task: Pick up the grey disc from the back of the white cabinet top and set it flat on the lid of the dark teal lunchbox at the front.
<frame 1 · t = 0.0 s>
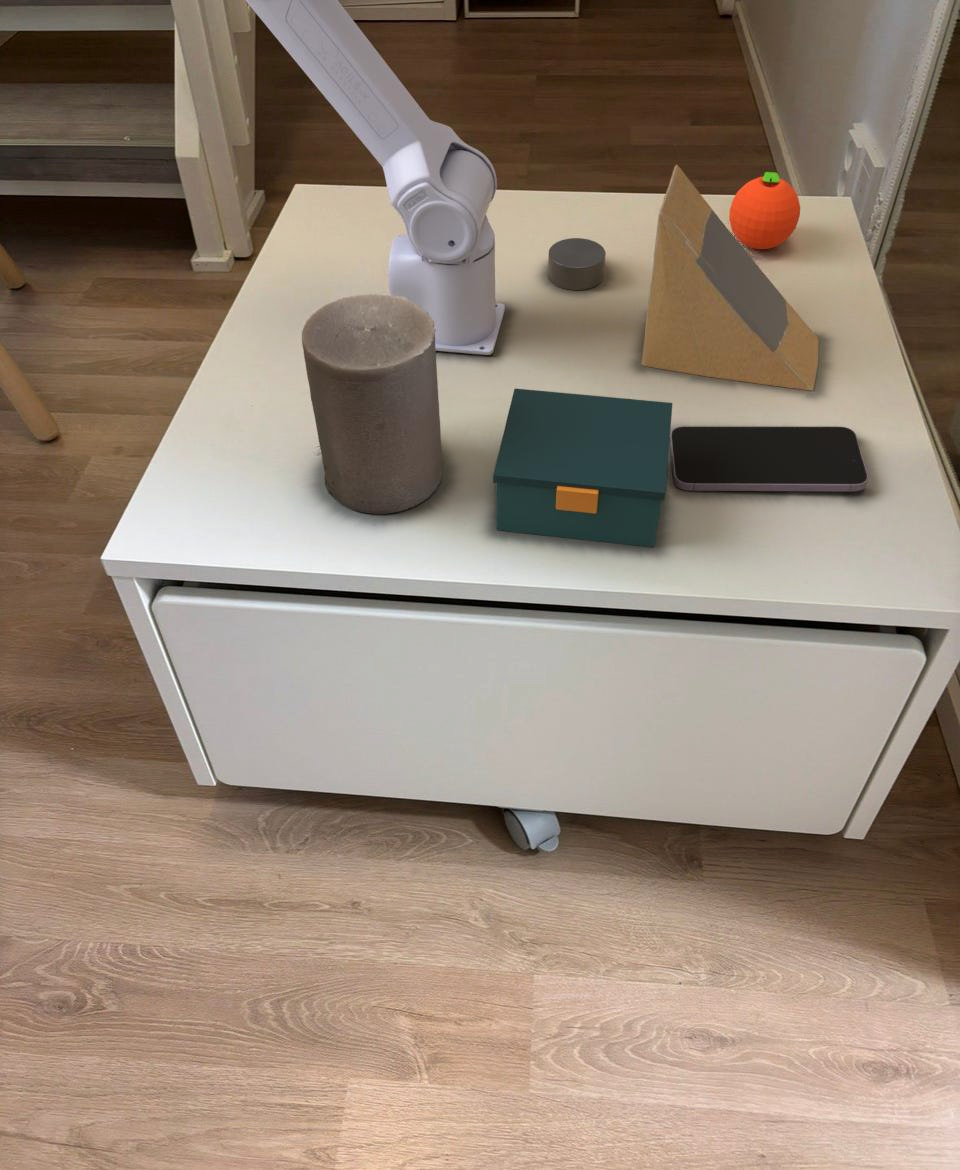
clementine: (757, 243, 106), on the table
sandwich container: (731, 354, 94), on the table
grey disc: (575, 275, 103), on the table
smartphone: (763, 465, 83), on the table
lunchbox: (581, 494, 81), on the table
pillar candle: (385, 475, 83), on the table
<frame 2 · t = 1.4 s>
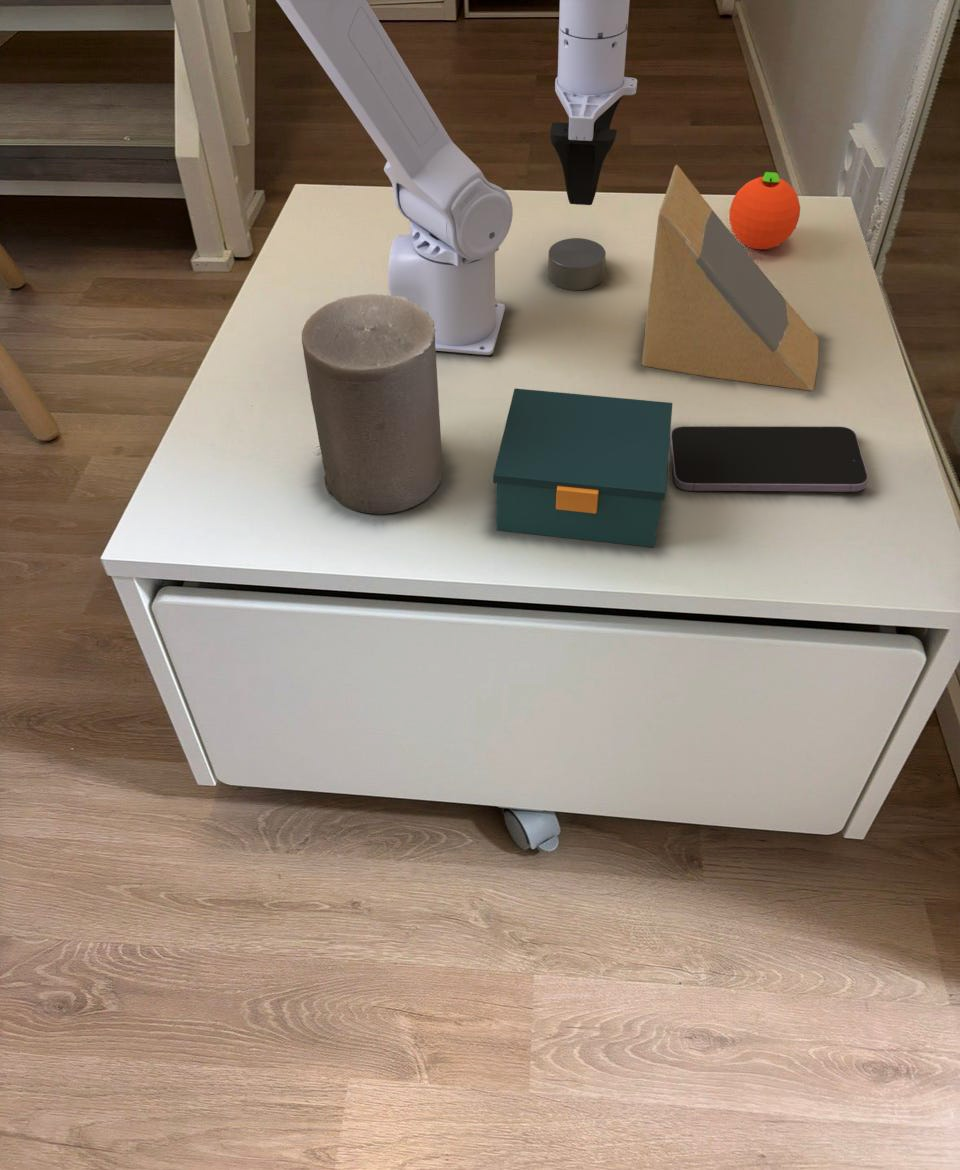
hand: (585, 182, 95), 10 cm above the table, tool pointing down, fingers open, 7 cm apart
nothing on the table moved.
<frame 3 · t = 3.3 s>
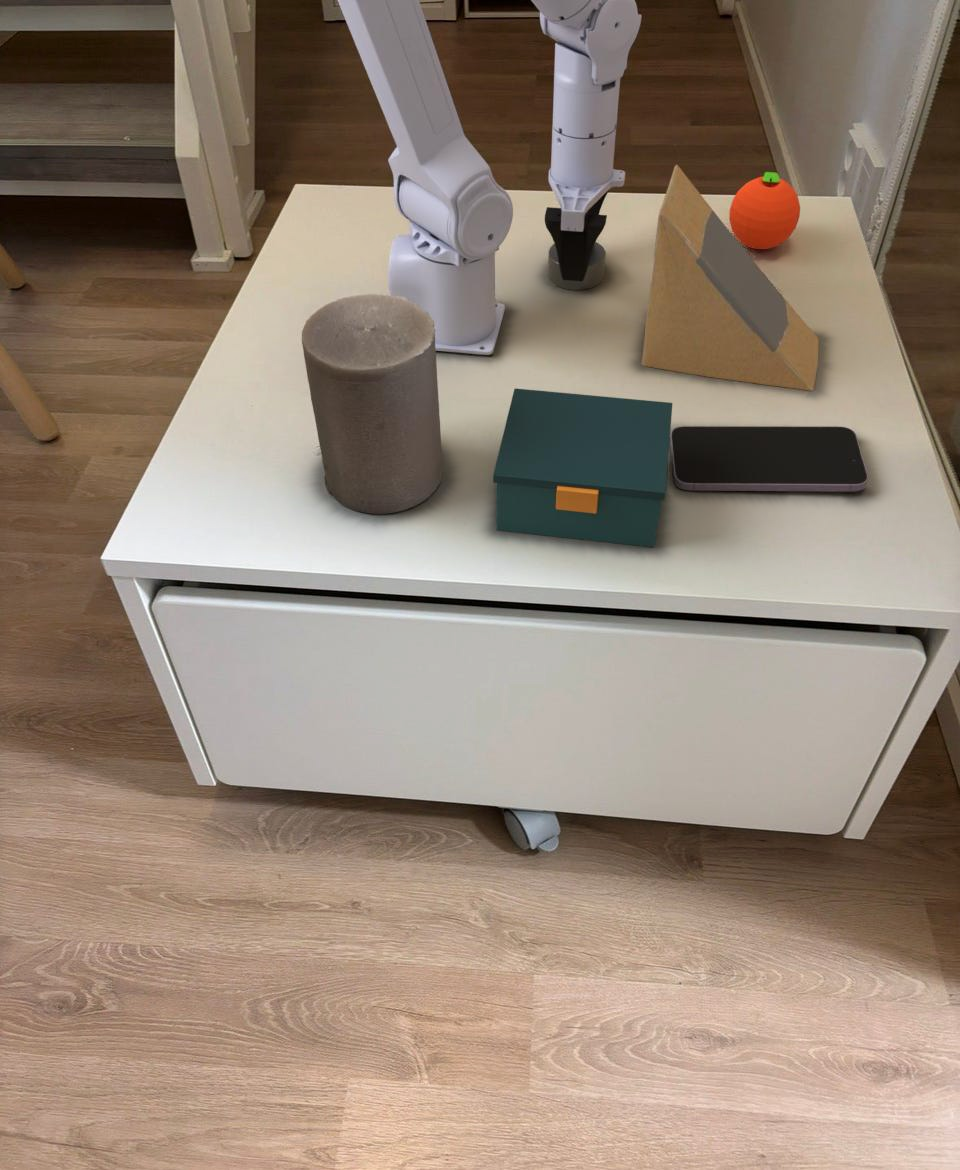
hand: (576, 262, 102), 1 cm above the table, tool pointing down, fingers closed on grey disc, 5 cm apart
grey disc: (575, 275, 103), on the table, touching gripper
everything else where it was.
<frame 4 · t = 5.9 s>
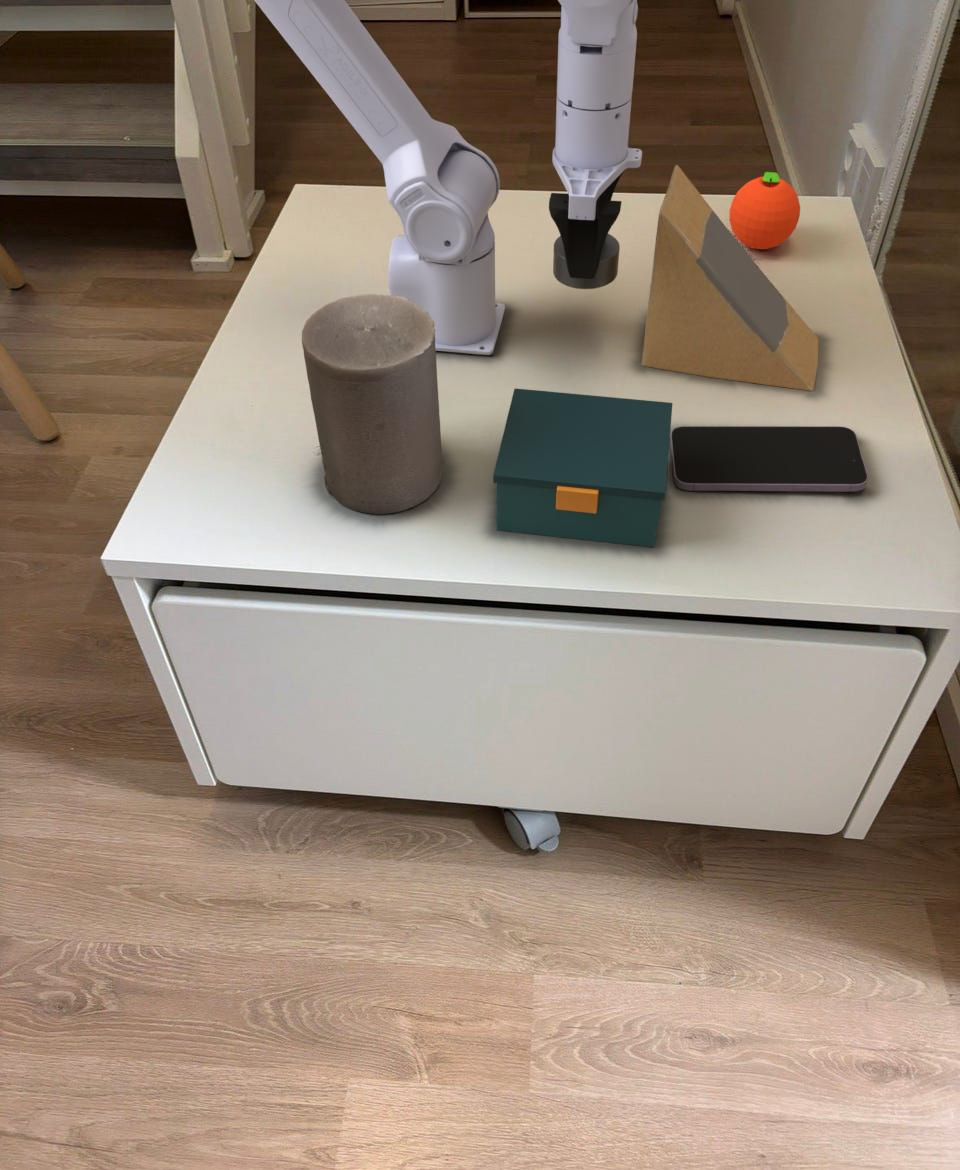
hand: (585, 257, 88), 9 cm above the table, tool pointing down, fingers closed on grey disc, 5 cm apart
grey disc: (585, 271, 89), point 7 cm above the table, touching gripper
everything else where it was.
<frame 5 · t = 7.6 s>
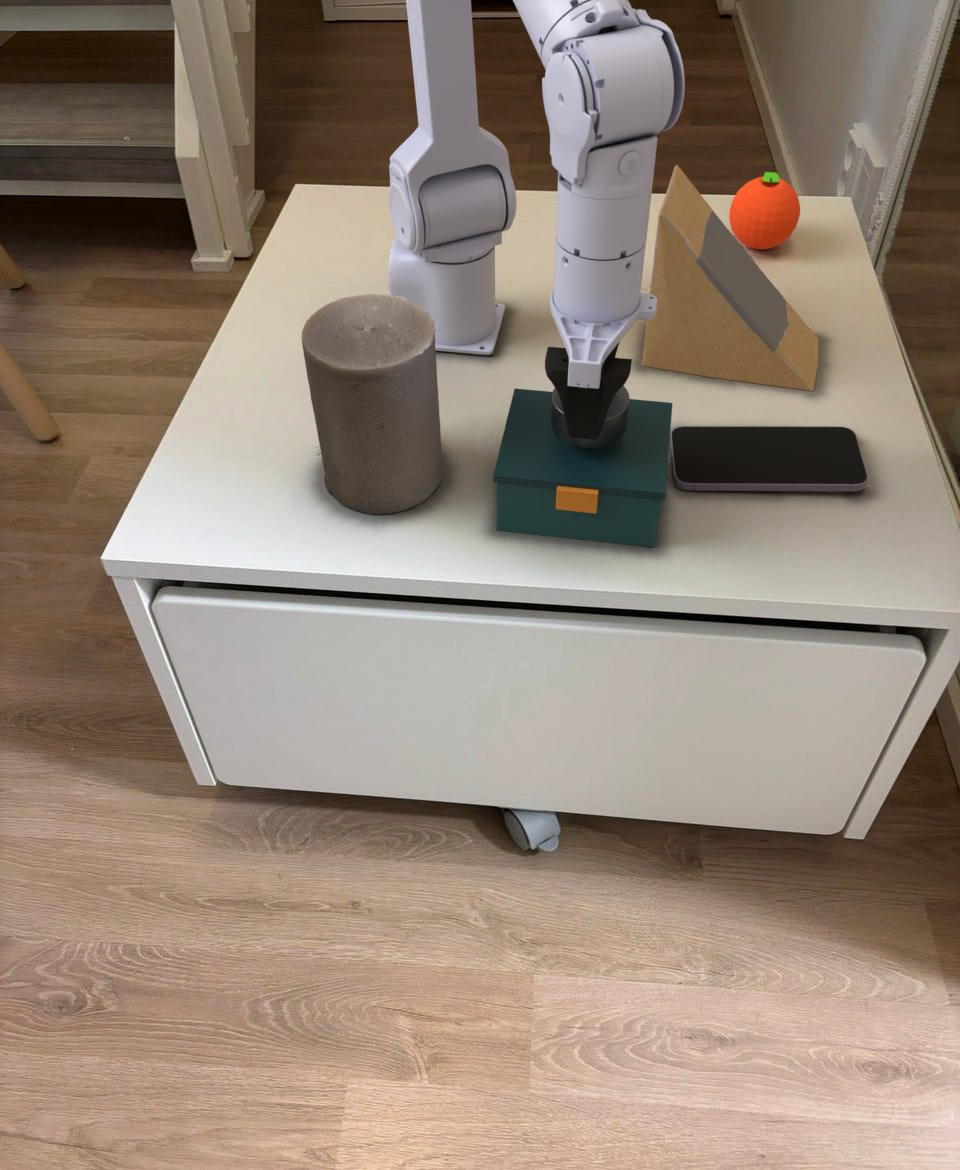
hand: (588, 409, 75), 8 cm above the table, tool pointing down, fingers closed on grey disc, 5 cm apart
grey disc: (588, 423, 76), point 7 cm above the table, touching gripper
everything else where it was.
when the fingers open (7 cm above the table, at t = 8.6 s): grey disc stays where it is, resting on lunchbox.
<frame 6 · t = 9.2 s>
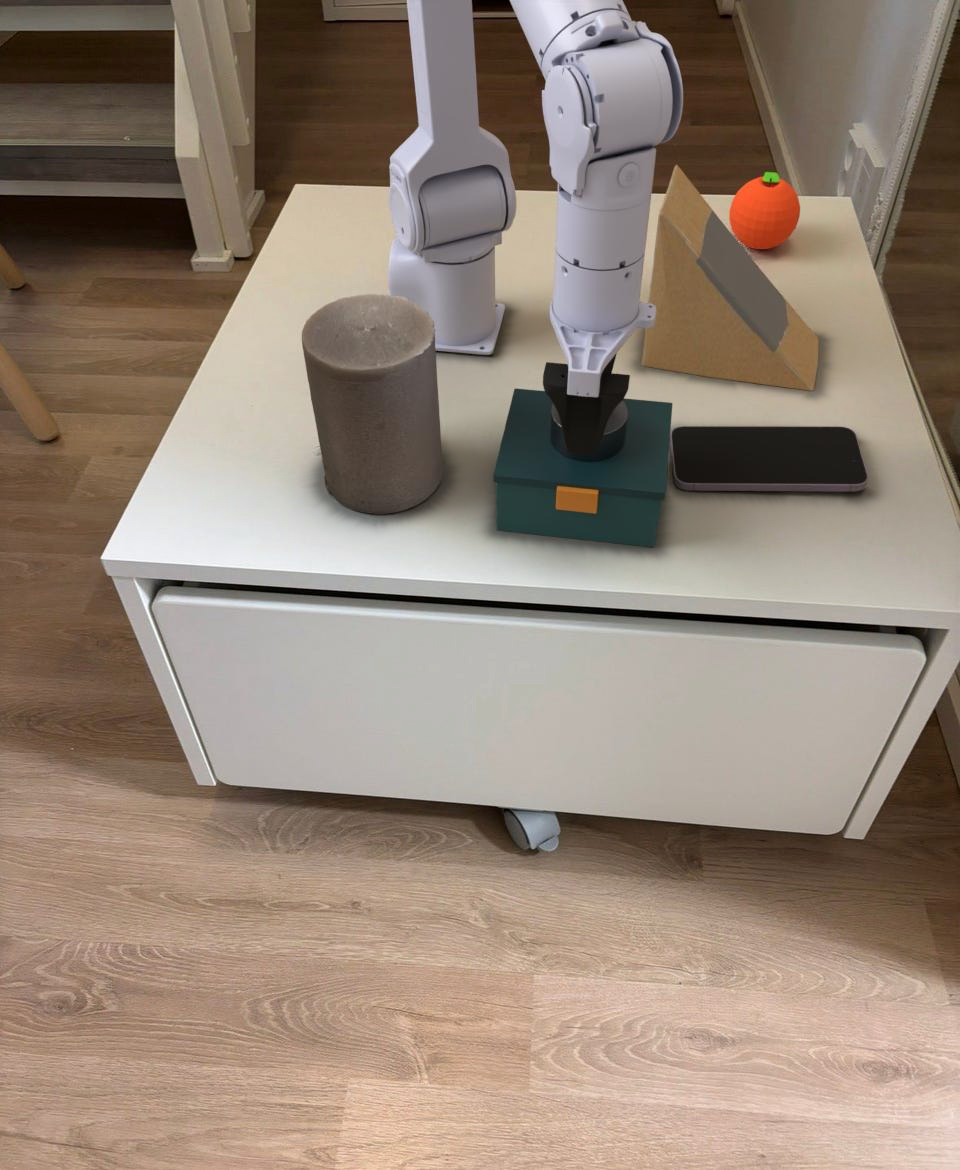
hand: (587, 416, 75), 8 cm above the table, tool pointing down, fingers open, 7 cm apart
grey disc: (587, 437, 77), point 6 cm above the table, touching lunchbox
everything else where it was.
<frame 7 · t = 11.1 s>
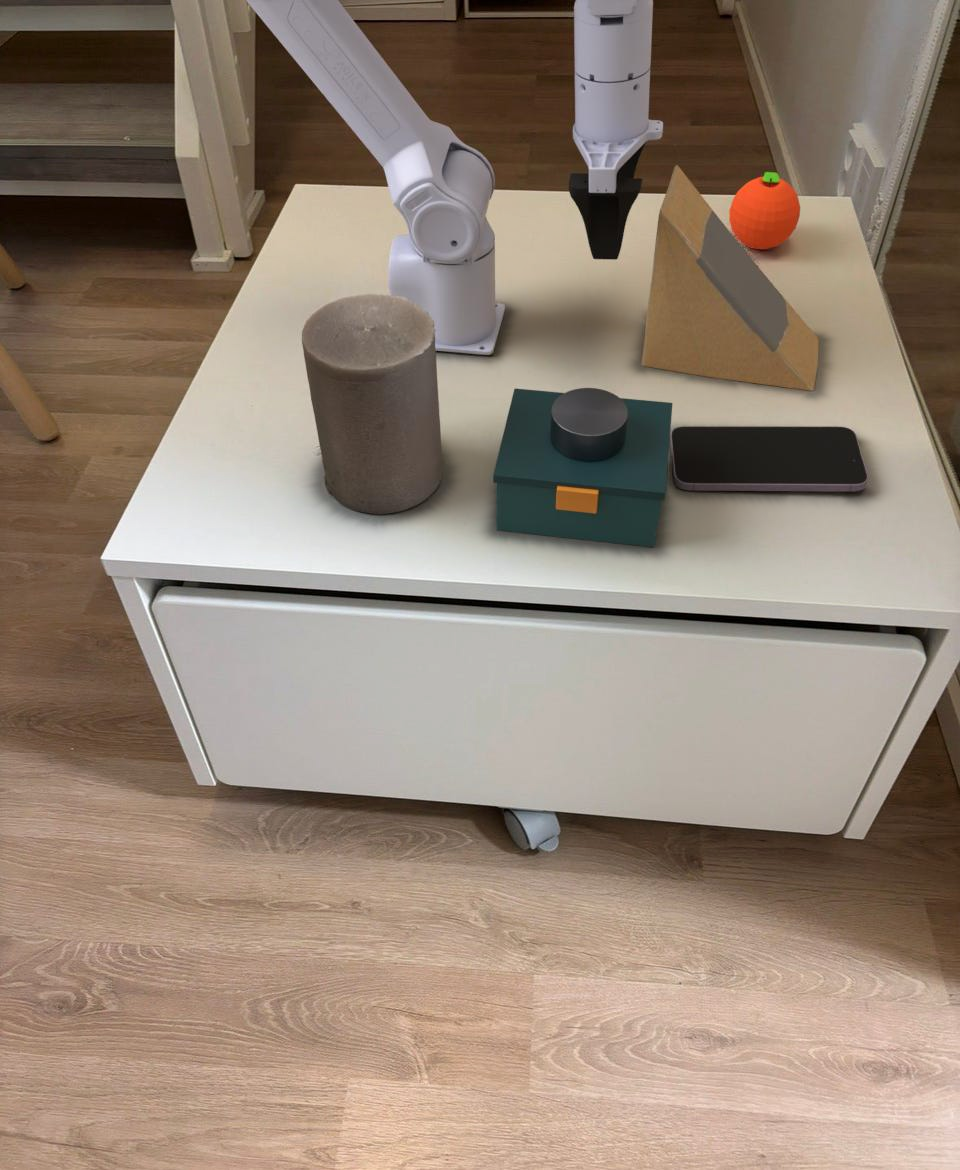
hand: (610, 233, 88), 10 cm above the table, tool pointing down, fingers open, 7 cm apart
nothing on the table moved.
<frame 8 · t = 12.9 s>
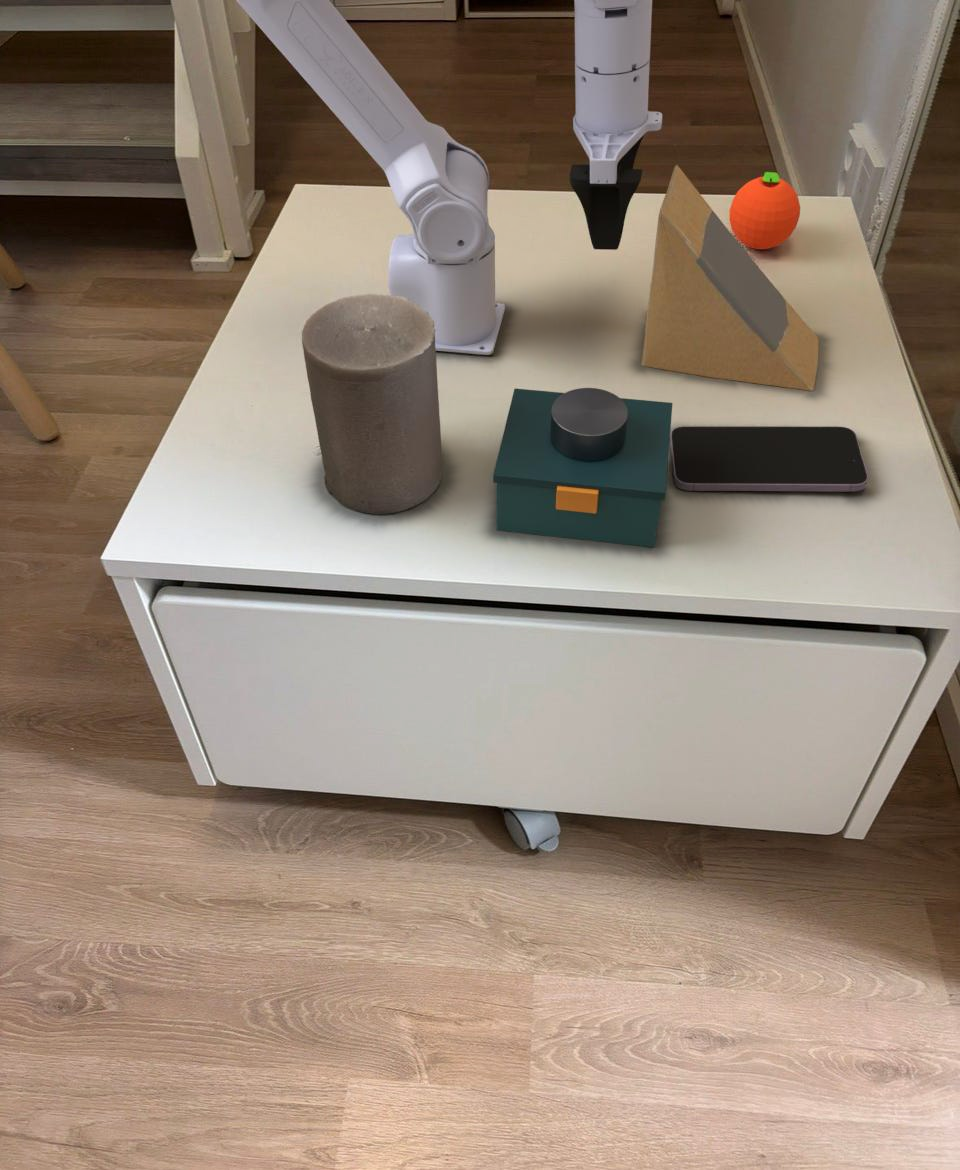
hand: (609, 224, 89), 10 cm above the table, tool pointing down, fingers open, 7 cm apart
nothing on the table moved.
at the end: grey disc 0.1 cm off-centre on the lunchbox, point 5.8 cm above the lunchbox's base; grey disc tilted 0°; the gripper is holding nothing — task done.
